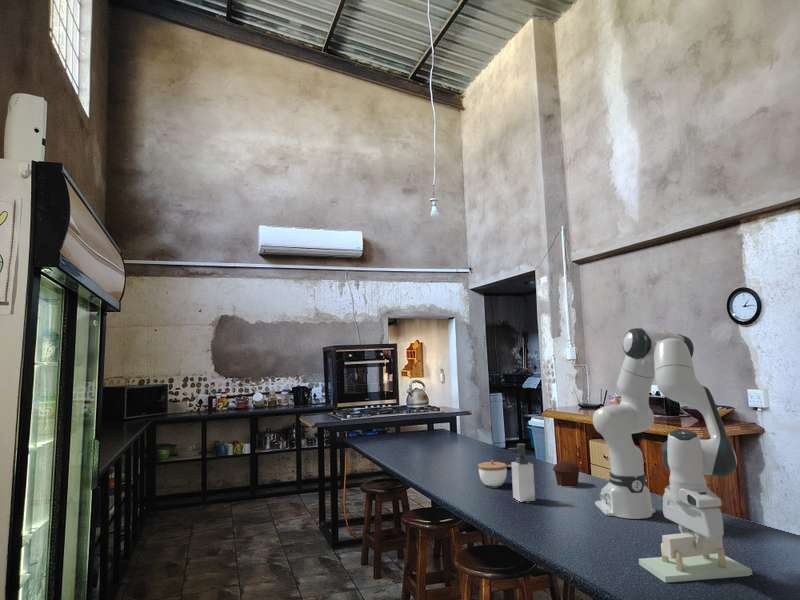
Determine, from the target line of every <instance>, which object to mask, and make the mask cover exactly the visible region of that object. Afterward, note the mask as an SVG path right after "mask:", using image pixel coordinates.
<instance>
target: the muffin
mask: <svg viewBox="0 0 800 600" xmlns="http://www.w3.org/2000/svg"><path fill="white" fill-rule="evenodd" d="M552 470H553V471H554V475H555V480H556V484H557V486H559V485H561V486H560V487H562V486H575V487H577V485H578V486H579V479H580V478H579V477H580V471H581V468H580V467H579V465H577V464H576V463H575V462H574V461H571V460H560V461H558V462H557V463H555V464H554V466H553V468H552Z"/></svg>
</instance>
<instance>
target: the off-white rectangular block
mask: <svg viewBox="0 0 800 600" xmlns="http://www.w3.org/2000/svg"><path fill="white" fill-rule="evenodd" d="M661 537H662V538H661V540H662V542H661V543H663V555H665V556H667V557H668V558H670V559H675V551H680V552H682V558H684V557H692V556H700V555H709V554H717V553H718V551H717V548H723V549H724V543H723V537H722V538H721V539H708V538H705V540H704V542H703V545H704V548H703V549H700V550H699V549H697V548H695V547H694V542H693V541H696V537H697V536H695V532H694V531H691V532H690V531H689V533H681V532H680V533H672V534H671V533H670V534H663V535H661Z"/></svg>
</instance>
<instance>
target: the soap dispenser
mask: <svg viewBox="0 0 800 600" xmlns="http://www.w3.org/2000/svg"><path fill="white" fill-rule="evenodd" d="M516 446H517V447H509V448H507V452H509V453H511V452H513V453H514V452H517V457H515V461H511V462H510V463H511V465H512V467H511V479H512V480H511V482H512V483H511V484H512V499H513V498H515V499H516V500H518V501H520V502H523V501H534V500H535V501H536V492H535V473H534V464H533V463H532V462H530V461H529V460H528V457H526V444H525V443H516ZM516 500H515V501H516ZM518 501H517V502H518Z"/></svg>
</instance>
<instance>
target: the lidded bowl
mask: <svg viewBox="0 0 800 600" xmlns="http://www.w3.org/2000/svg"><path fill="white" fill-rule="evenodd" d="M477 465H478V466H477V467H478V474H479V478H480V480H481V482H482V483H483V484H484V486H485V485H489V486H500V485H501V486H502V485H503V484H504V483H505V481H506V479H507V473H508V472H507V468H508V467H507V465H508V464H506V463H504V462H500V461H494V460H493V459H491V460H490V461H483V462H480V463H478V464H477ZM501 486H500V487H501Z"/></svg>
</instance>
